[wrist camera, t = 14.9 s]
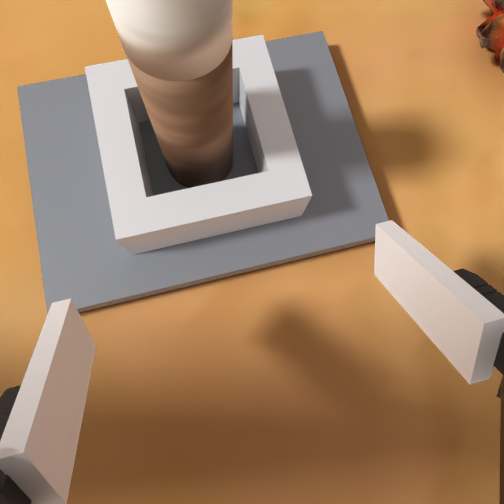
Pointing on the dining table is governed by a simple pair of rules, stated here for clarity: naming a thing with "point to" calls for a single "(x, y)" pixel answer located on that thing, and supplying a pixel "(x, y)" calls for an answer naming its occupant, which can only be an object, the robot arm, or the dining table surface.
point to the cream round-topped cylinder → (183, 80)
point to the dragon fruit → (493, 31)
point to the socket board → (216, 258)
